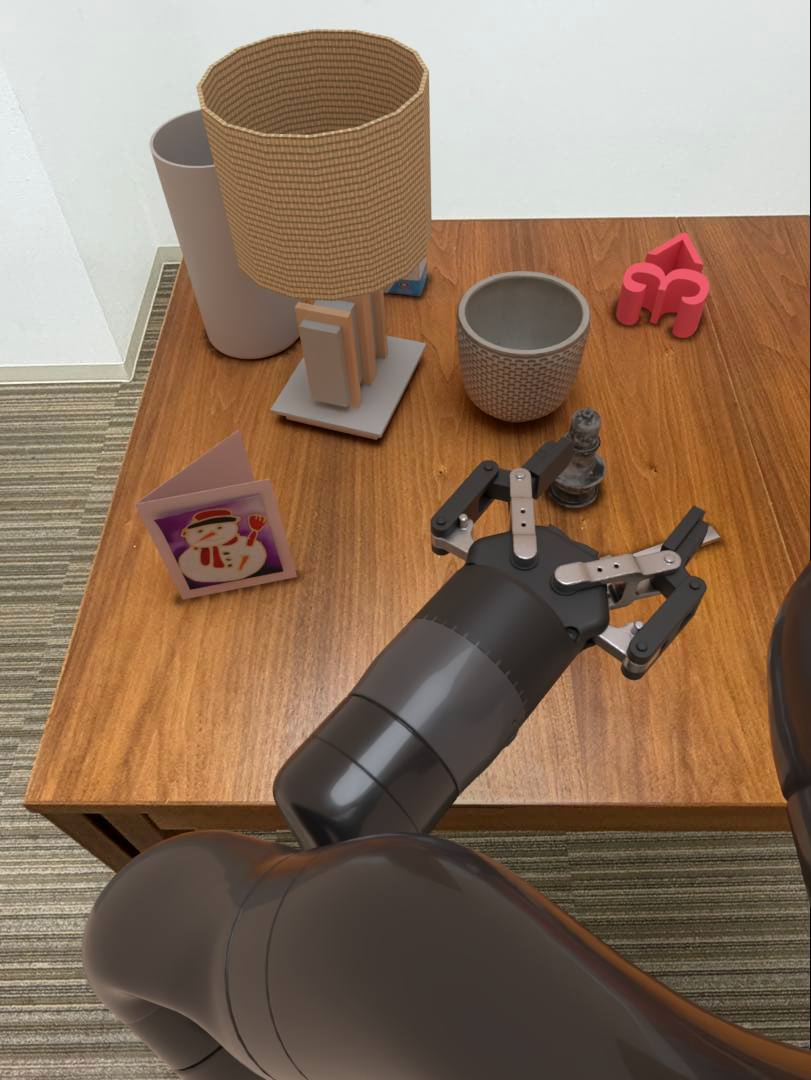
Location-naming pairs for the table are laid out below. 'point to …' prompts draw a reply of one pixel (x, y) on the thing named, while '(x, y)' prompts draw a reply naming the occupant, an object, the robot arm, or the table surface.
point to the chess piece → (581, 463)
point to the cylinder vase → (216, 247)
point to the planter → (521, 343)
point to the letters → (666, 286)
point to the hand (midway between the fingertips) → (629, 481)
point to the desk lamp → (328, 204)
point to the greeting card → (218, 524)
